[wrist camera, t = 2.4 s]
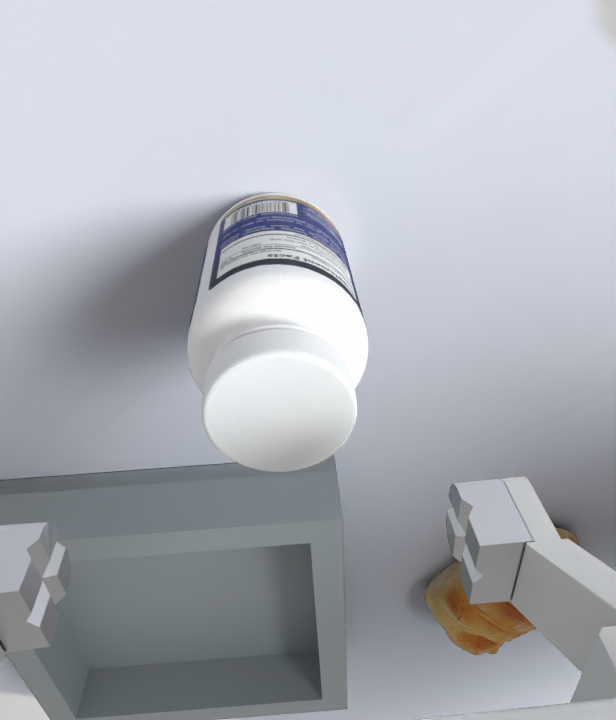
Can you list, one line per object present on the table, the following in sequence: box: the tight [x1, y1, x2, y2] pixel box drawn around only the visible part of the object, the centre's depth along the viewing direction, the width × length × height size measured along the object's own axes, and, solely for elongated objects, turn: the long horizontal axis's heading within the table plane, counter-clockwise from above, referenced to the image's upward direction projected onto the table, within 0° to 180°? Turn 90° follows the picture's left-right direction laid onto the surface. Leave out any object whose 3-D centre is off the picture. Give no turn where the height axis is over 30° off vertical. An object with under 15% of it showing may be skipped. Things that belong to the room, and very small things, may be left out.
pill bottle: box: [187, 193, 368, 472], centre depth 19 cm, size 5×5×10 cm
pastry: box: [424, 528, 579, 655], centre depth 34 cm, size 9×7×4 cm
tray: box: [0, 456, 347, 720], centre depth 32 cm, size 18×18×4 cm
